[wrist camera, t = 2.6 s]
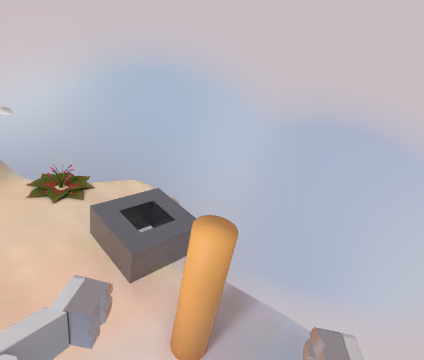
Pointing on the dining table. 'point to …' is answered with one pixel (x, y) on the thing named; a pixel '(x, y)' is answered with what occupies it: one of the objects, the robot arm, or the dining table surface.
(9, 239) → the dining table surface
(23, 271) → the dining table surface
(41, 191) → the green flowering plant
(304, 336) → the dining table surface
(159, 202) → the gray square socket block
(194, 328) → the orange cylinder
